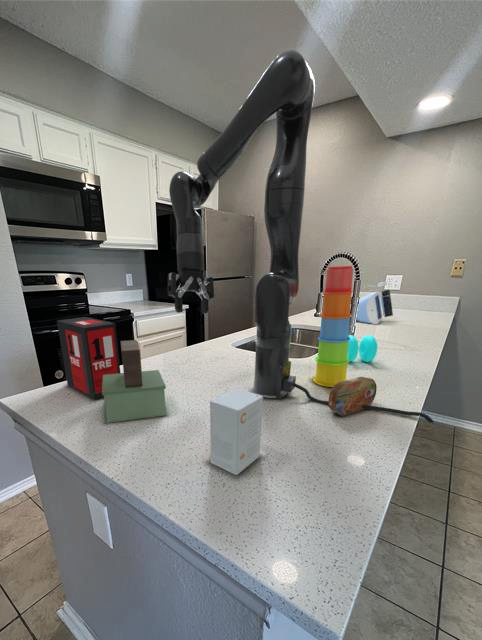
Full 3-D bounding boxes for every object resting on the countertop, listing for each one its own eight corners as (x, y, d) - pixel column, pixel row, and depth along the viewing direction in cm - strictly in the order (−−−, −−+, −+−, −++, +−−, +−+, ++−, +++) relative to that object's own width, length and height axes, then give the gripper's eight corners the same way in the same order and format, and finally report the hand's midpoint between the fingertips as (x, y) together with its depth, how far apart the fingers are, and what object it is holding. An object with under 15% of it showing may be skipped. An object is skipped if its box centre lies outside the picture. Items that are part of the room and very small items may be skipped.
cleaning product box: (67, 385, 99) (56, 320, 92) (94, 378, 105) (85, 316, 98) (94, 400, 89) (84, 328, 82) (122, 391, 95) (115, 323, 88)
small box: (234, 445, 67) (235, 387, 62) (260, 456, 63) (264, 395, 58) (209, 463, 61) (209, 400, 56) (236, 476, 57) (238, 410, 52)
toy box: (160, 396, 91) (158, 369, 88) (167, 415, 80) (165, 385, 77) (106, 402, 87) (102, 374, 84) (105, 423, 76) (101, 392, 73)
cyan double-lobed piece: (375, 365, 118) (381, 338, 114) (348, 365, 118) (352, 338, 115) (363, 357, 127) (368, 332, 124) (338, 357, 127) (342, 332, 124)
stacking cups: (329, 390, 95) (346, 266, 83) (306, 379, 104) (319, 265, 92) (354, 385, 99) (375, 265, 87) (330, 375, 108) (345, 265, 96)
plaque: (123, 374, 84) (120, 340, 81) (139, 373, 86) (137, 339, 82) (125, 387, 76) (121, 350, 72) (143, 386, 77) (140, 349, 73)
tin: (333, 418, 78) (338, 386, 75) (323, 413, 81) (328, 382, 78) (374, 406, 84) (380, 376, 81) (364, 402, 87) (369, 373, 84)
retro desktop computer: (388, 279, 199) (391, 280, 185) (393, 316, 205) (396, 320, 190) (344, 290, 210) (344, 292, 196) (350, 325, 216) (350, 329, 201)
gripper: (175, 246, 82) (177, 310, 84) (218, 254, 90) (220, 312, 93) (161, 253, 88) (163, 313, 90) (203, 260, 96) (204, 315, 98)
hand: (192, 313), depth 91 cm, fingers open, 8 cm apart
